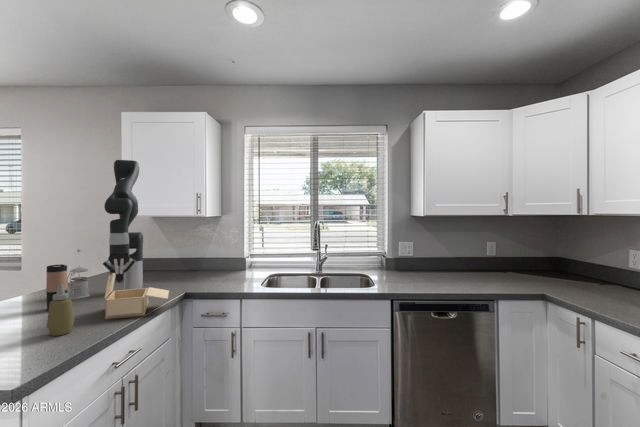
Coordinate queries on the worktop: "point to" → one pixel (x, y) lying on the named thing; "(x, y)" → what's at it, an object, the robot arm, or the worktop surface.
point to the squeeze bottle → (60, 313)
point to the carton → (126, 303)
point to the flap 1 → (110, 284)
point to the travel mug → (55, 280)
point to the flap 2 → (157, 293)
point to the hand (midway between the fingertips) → (119, 282)
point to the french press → (78, 284)
